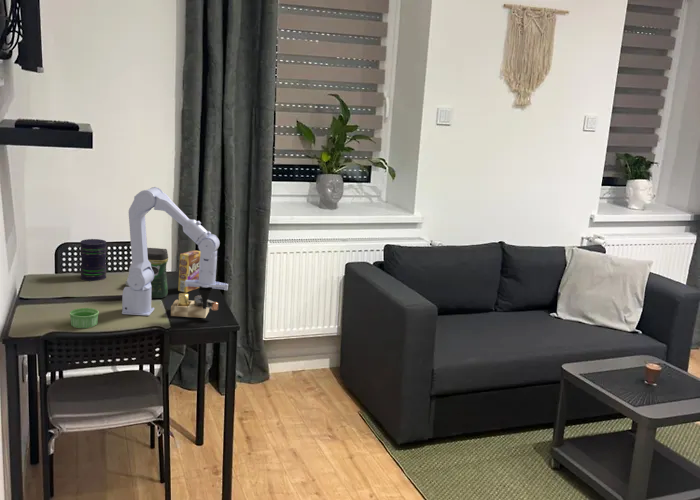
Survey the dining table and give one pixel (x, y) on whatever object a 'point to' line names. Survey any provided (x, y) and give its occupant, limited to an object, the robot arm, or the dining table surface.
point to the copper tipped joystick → (210, 304)
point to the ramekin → (84, 317)
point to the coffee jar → (158, 271)
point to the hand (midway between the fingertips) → (205, 307)
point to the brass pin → (183, 299)
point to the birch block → (188, 310)
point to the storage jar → (93, 259)
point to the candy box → (188, 269)
